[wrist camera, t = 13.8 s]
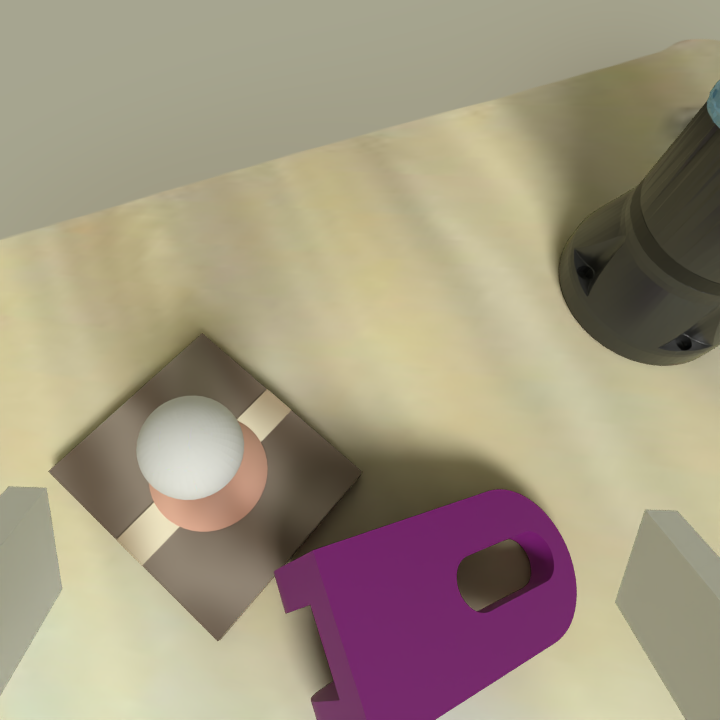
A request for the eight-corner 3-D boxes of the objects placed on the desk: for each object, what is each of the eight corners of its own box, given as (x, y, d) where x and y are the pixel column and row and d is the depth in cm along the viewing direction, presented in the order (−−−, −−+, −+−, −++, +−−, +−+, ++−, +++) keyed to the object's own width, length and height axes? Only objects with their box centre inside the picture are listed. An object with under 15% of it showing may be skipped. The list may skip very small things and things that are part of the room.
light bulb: (243, 420, 40) (225, 369, 31) (262, 501, 38) (249, 472, 29) (159, 442, 39) (114, 395, 30) (174, 526, 37) (131, 504, 28)
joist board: (204, 339, 44) (201, 331, 43) (360, 475, 41) (362, 471, 40) (55, 474, 39) (47, 470, 38) (220, 639, 36) (217, 641, 35)
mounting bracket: (459, 509, 47) (254, 580, 36) (533, 476, 41) (312, 549, 30) (509, 631, 44) (301, 750, 33) (599, 616, 37) (377, 756, 26)
